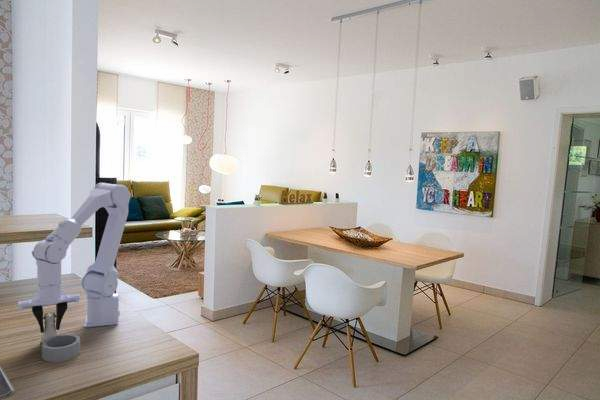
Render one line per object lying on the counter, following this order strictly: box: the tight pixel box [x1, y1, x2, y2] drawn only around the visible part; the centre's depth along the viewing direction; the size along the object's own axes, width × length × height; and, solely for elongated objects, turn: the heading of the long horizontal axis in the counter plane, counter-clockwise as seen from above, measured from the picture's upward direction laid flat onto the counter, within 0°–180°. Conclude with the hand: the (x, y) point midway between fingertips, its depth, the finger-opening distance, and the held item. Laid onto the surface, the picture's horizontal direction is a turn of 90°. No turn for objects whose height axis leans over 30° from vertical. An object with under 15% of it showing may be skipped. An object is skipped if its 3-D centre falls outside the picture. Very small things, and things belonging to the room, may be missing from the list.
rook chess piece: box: [40, 311, 60, 344], centre depth 117 cm, size 4×4×8 cm
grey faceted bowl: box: [41, 333, 81, 363], centre depth 111 cm, size 9×9×4 cm
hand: (49, 330), depth 117 cm, fingers closed on rook chess piece, 3 cm apart
